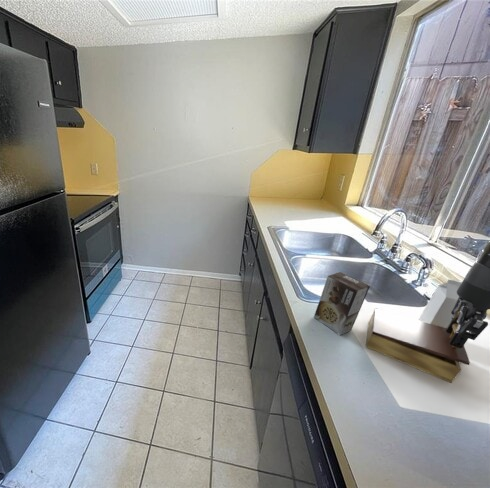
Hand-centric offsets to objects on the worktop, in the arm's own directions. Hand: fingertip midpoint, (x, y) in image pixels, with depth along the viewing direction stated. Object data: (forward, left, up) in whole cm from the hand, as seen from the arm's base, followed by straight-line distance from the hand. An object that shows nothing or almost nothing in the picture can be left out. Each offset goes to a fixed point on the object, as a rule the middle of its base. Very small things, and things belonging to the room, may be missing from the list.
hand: (453, 339), depth 66 cm
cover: (+7, 0, -2) cm, 7 cm away
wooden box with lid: (+7, 0, -8) cm, 11 cm away
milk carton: (0, -14, -8) cm, 16 cm away
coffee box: (+25, +2, -8) cm, 26 cm away
